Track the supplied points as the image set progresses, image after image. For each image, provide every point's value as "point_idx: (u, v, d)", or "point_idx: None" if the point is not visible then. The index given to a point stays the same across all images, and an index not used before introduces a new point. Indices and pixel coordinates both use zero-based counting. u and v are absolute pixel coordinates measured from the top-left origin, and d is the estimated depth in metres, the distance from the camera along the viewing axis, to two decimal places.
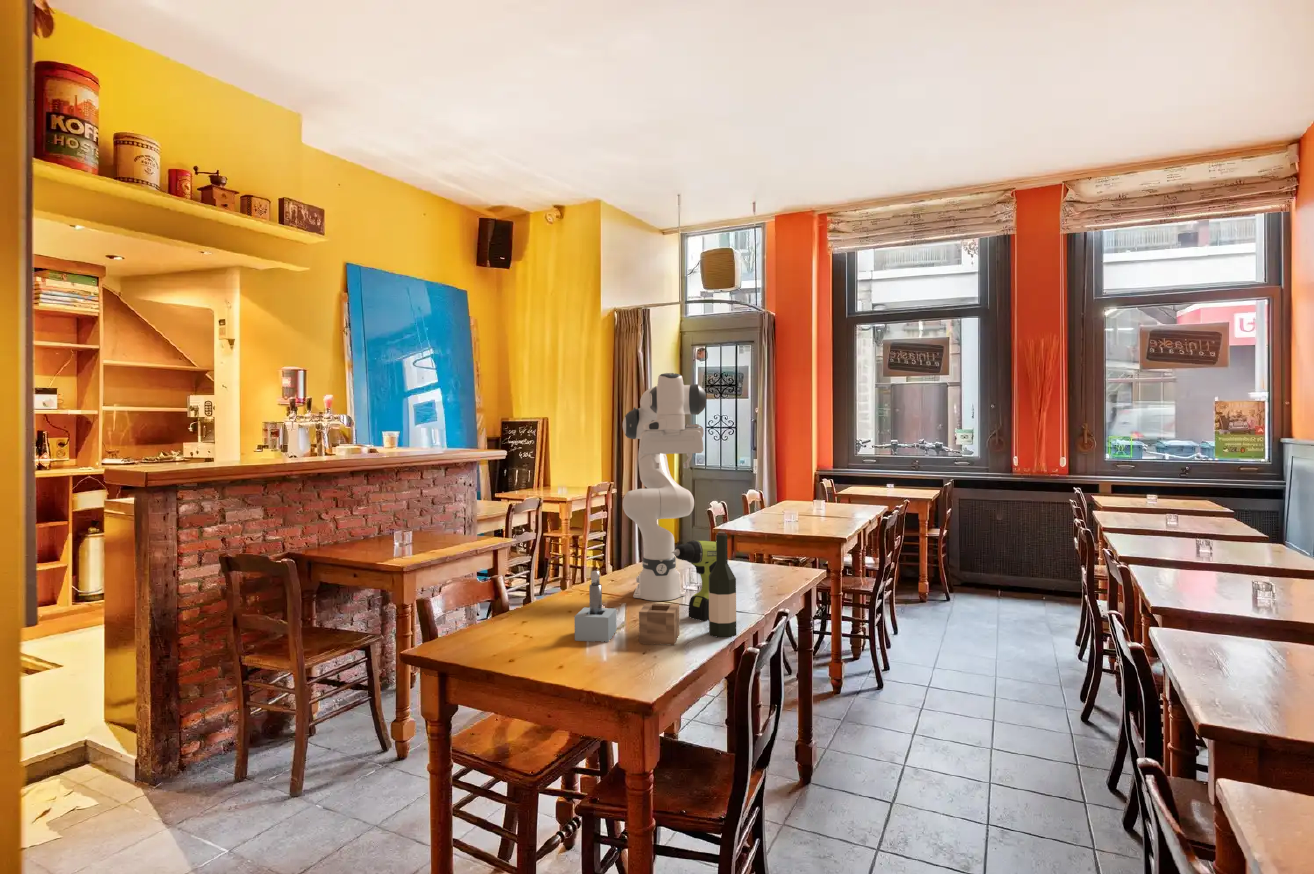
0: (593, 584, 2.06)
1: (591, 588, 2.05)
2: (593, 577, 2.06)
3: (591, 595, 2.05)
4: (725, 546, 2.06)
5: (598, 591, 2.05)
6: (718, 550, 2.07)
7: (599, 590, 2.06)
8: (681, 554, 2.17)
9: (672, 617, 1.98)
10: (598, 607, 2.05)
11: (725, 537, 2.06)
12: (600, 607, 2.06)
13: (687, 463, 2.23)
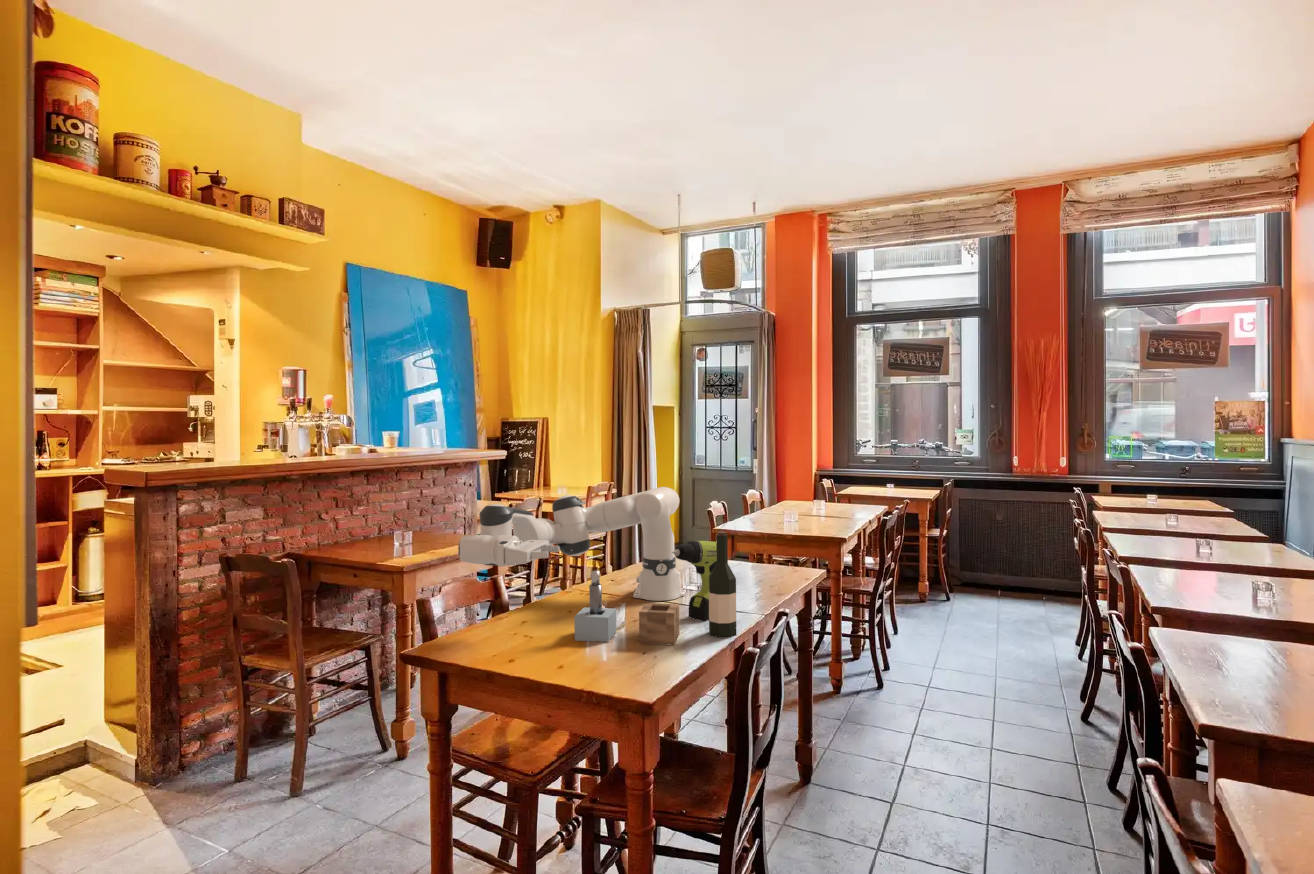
0: (593, 584, 2.06)
1: (591, 588, 2.05)
2: (594, 577, 2.06)
3: (591, 595, 2.05)
4: (725, 546, 2.06)
5: (598, 591, 2.05)
6: (718, 550, 2.07)
7: (599, 590, 2.06)
8: (681, 554, 2.17)
9: (672, 617, 1.98)
10: (598, 607, 2.05)
11: (725, 537, 2.06)
12: (600, 607, 2.06)
13: None
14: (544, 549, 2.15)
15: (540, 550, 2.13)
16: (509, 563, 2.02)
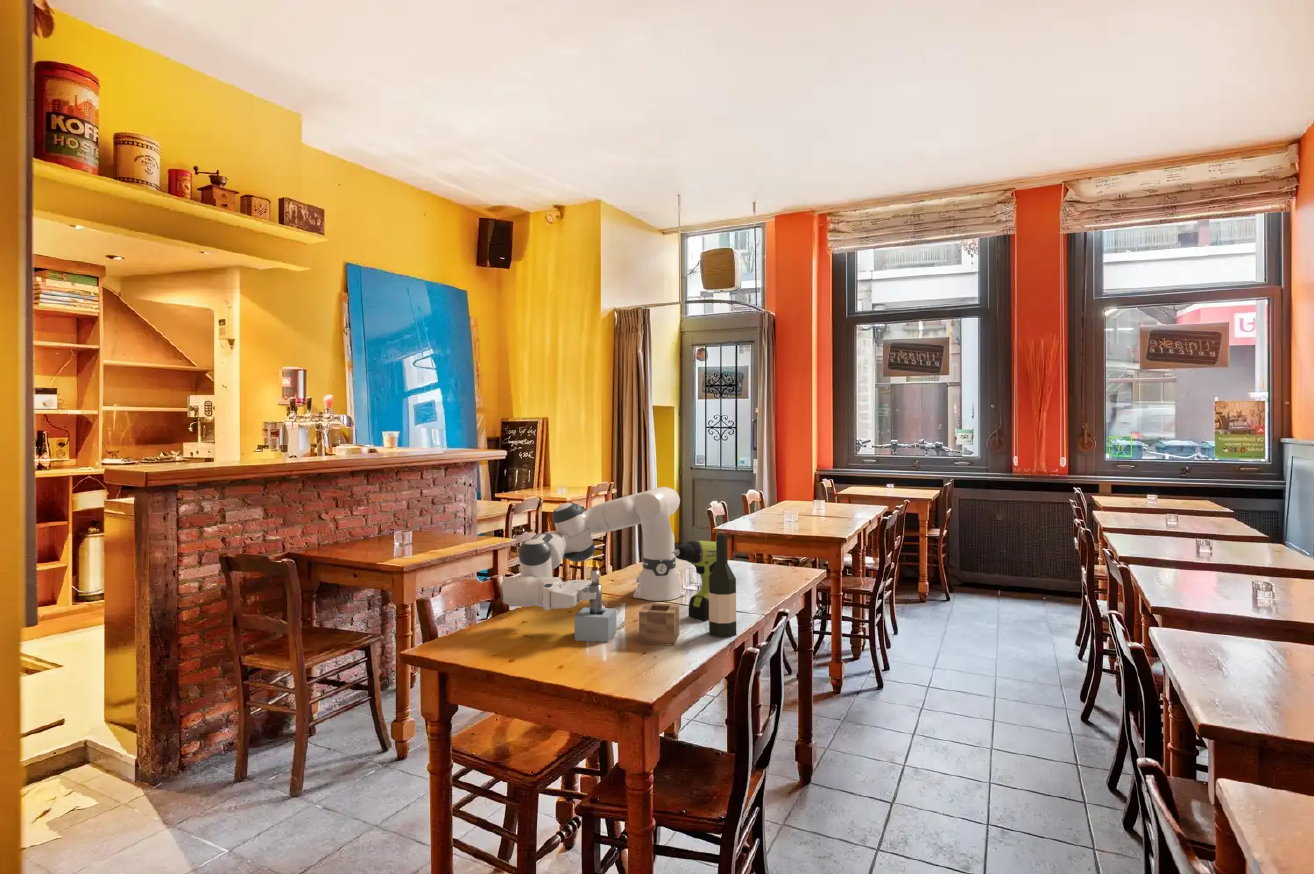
0: (593, 584, 2.06)
1: (591, 588, 2.05)
2: (593, 577, 2.06)
3: None
4: (725, 546, 2.06)
5: (597, 591, 2.05)
6: (718, 550, 2.07)
7: (599, 590, 2.06)
8: (681, 554, 2.17)
9: (672, 617, 1.98)
10: (598, 607, 2.05)
11: (725, 537, 2.06)
12: (600, 607, 2.06)
13: None
14: None
15: (584, 591, 2.11)
16: (555, 607, 1.99)
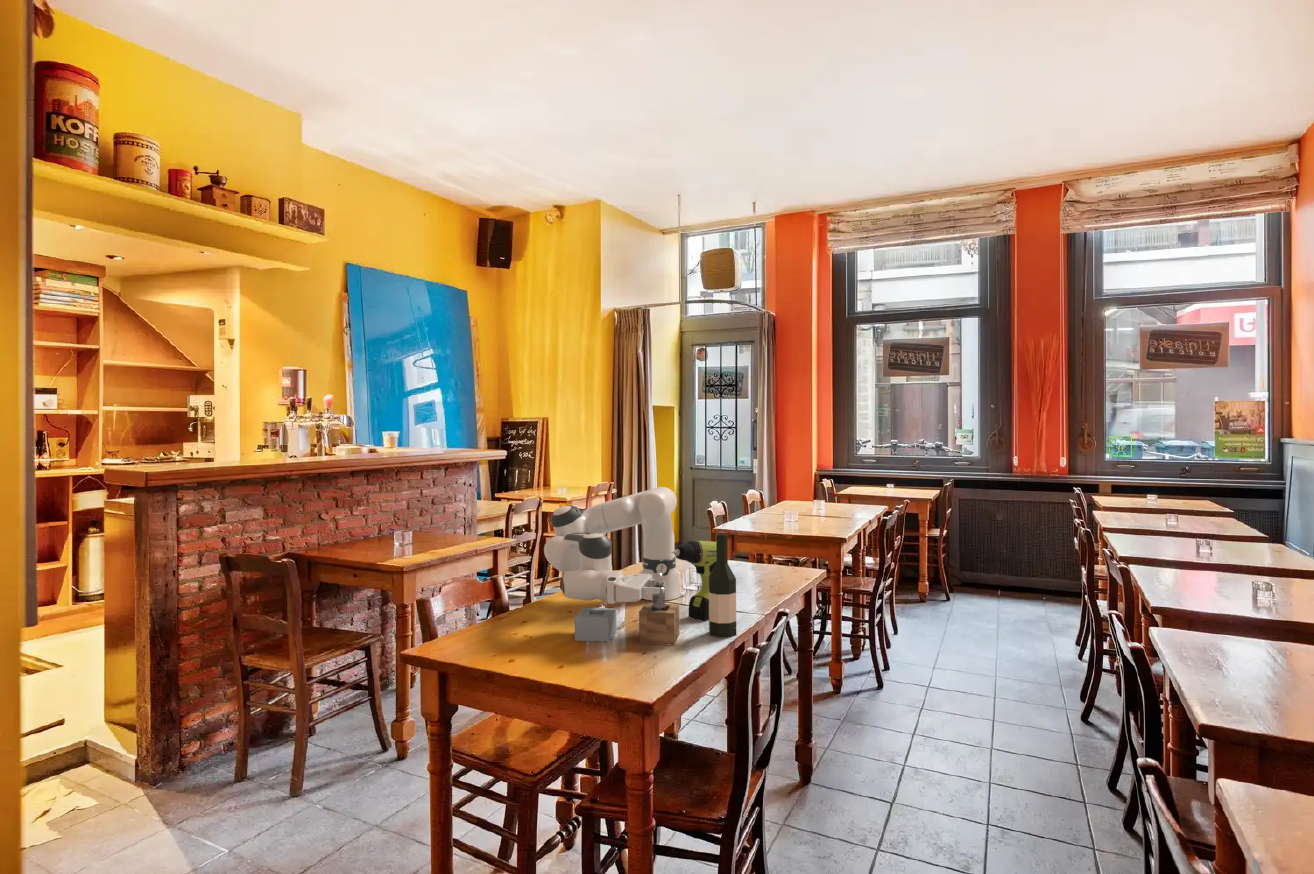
0: (656, 586, 2.02)
1: None
2: (657, 580, 2.02)
3: (655, 598, 2.01)
4: (725, 546, 2.06)
5: (661, 593, 2.01)
6: (718, 550, 2.07)
7: (663, 592, 2.02)
8: (681, 554, 2.17)
9: (672, 617, 1.98)
10: (662, 610, 2.02)
11: (725, 537, 2.06)
12: (664, 609, 2.02)
13: None
14: None
15: (646, 585, 2.07)
16: (621, 601, 1.96)
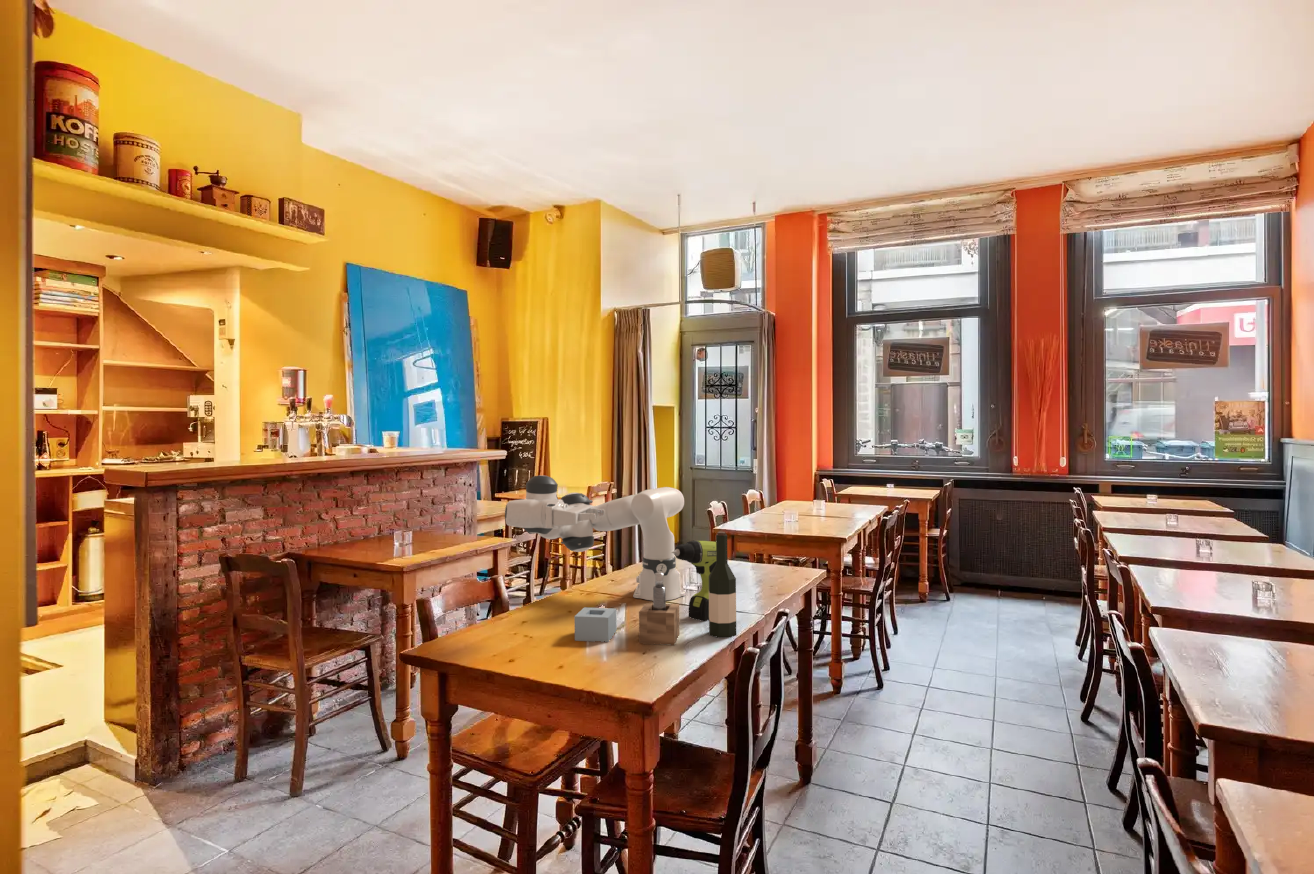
0: (657, 586, 2.02)
1: (655, 590, 2.02)
2: (658, 579, 2.02)
3: (656, 597, 2.02)
4: (724, 546, 2.06)
5: (662, 593, 2.02)
6: (717, 550, 2.07)
7: (663, 592, 2.02)
8: (681, 554, 2.17)
9: (672, 617, 1.98)
10: (662, 609, 2.02)
11: (725, 537, 2.06)
12: (664, 609, 2.02)
13: (599, 509, 2.17)
14: (589, 513, 2.18)
15: None
16: (558, 524, 2.05)
